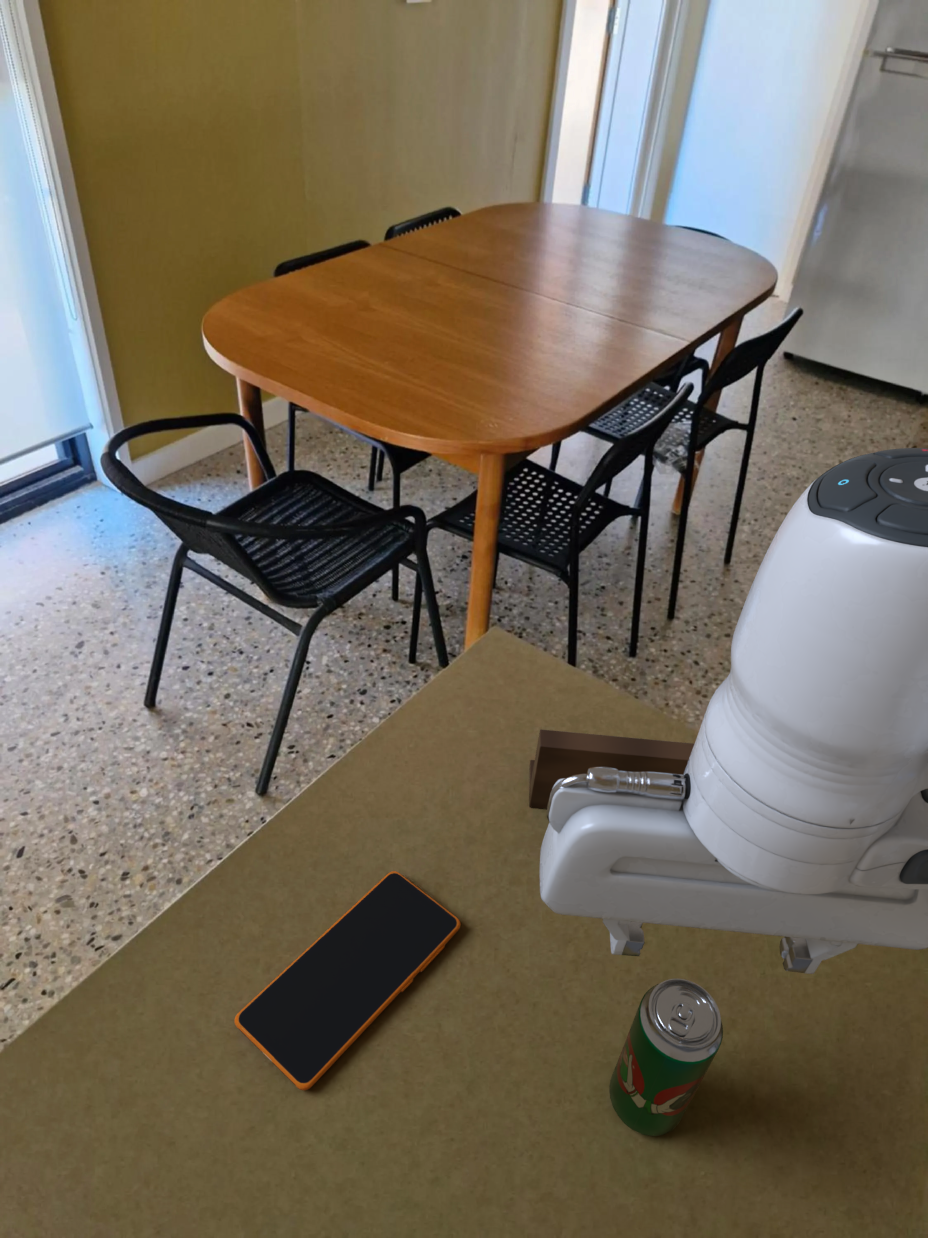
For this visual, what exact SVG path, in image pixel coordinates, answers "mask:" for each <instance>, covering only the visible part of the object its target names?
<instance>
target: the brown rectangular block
mask: <svg viewBox="0 0 928 1238" xmlns="http://www.w3.org/2000/svg"><path fill="white" fill-rule="evenodd" d="M694 744H695V743H691V742H680V741H672V740H671V741H670V740H661V739H659V740H658V739H650V738H649V739H648V738H640V737H639V738H638V737H628V736H617V735H616V736H615V735H605V734H596V733H595V734H594V733H586V732H585V733H584V732H573V731H562V730H553V729H552V730H551V729H539V733H538V739H537V745H536V750H535V757H534V759H530V760H529V772H528V773H529V775H528V777H529V779H528V782H529V785H528V787H529V788H528V789H529V793H528V794H529V795H528V798H529V799H528V803H529V804H528V806H529V808H533V809H544V810H547V807H548V802H549V797H550V793H551V791H552V788H553V786H554V784H555V783H556V782H557V781H558V780H559V779H563V778H567V777H570V776H573V775H577V774H587V771H588V769H589V768H592V767H611V768H616V769H618V771H627V772H628V771H630V772H662V773H672V774H684V772H685V769H686V766H687V763H688V760H689V757H690V755H691V752H692V749H693V746H694Z"/></svg>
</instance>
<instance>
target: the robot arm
mask: <svg viewBox="0 0 928 1238" xmlns="http://www.w3.org/2000/svg"><path fill="white" fill-rule="evenodd" d="M777 529H778V530H777V531H776V533H775V535H774V537H773V539H772V541H771V542H770V545H769V547H768V548H767V551H766V553H765V555H764V557H763V559H762V561H761V563H760V565H759V566H758V567H759V568H758V570H757V572H756V575H755V577H754V579H753V581H752V584H751V585H750V589H749V591H748V593H747V596H746V599H745V602H744V604H743V607H742V609H741V612H740V615H739V617H738V620H737V623H736V625H735V629H734V631H733V635H732V639H731V643H730V644H731V645H730V664H731V665H730V670H729V674H728V675H727V677H726V678H724V680H723V681H722V682H721V683H720V684H719V685H718V687H717V688H716V689H715V691H714V693H713V694H712V696H711V698H710V700H709V703H708V705H707V706H706V710H705V712H704V715H703V719H702V721H701V724H700V728H699V729H698V733H697V736H696V738H695V741H694V743H693V744H694V746H693V749H692V752H691V755H690V757H689V760H688V763H687V766H686V769H685V772H684V774H672V773H662V772H630V771H628V772H627V771H618V769H616V768H611V767H592V768H589V769H588V771H587V774H577V775H573V776H570V777H567V778H563V779H559V780H558V781H557V782H556V783H555V784H554V786H553V788H552V791H551V793H550V797H549V802H548V807H547V809H546V818H547V819H546V820H547V821H548V822H549V823H548V825H547V828H546V830H545V833H544V836H543V839H542V841H541V842H542V843H541V846H540V850H539V851H540V852H539V893H540V898H541V901H542V902H543V903H544V904H545V905H546V906H547V907H548V908H549V909H550V910H551V911H552V912H553V913H555V914H558V915H563V916H572V917H583V918H592V919H602V924H603V925H604V926H605V928H606V929H607V930H608V932H609V943H610V953H611V955H614V956H629V957H640V956H641V950H643V948H644V946H645V933H644V930H643V929H642V928H643V927H642V926H643V924H652V925H653V924H655V925H662V926H663V925H664V926H674V927H682V928H683V927H684V928H693V929H704V930H713V931H725V932H734V933H743V934H744V933H745V934H753V935H765V936H775V937H782V938H780V941H779V954H780V957H782V959H783V962H782V967H783V970H784V971H785V972H789V973H790V972H792V973H797V974H798V973H800V974H807V975H814V974H815V973H816V971H817V970H818V968H819V966H820V964H821V963H823V962H822V961H826V960H829V959H831V958H834V957H836V956H838V955H841V954H844V953H846V952H848V951H851V950H853V949H855V948H857V946H858V945H866V946H876V947H885V948H896V949H897V948H898V949H906V950H913V951H914V950H915V951H920V950H926V949H928V447H927V448H926V447H902V448H901V447H900V448H892V449H883V450H878V451H874V452H869V453H865V454H861V455H857V456H854V457H852V458H851V457H850V458H849V459H846V460H844V461H842V462H840V463H838V464H836V465H834V466H832V467H831V468H829V469H828V470H826V471H825V472H824V473H822V474H821V475H819V476H818V477H817V478H816V479H815V480H813V481H812V482H811V484H809V485H808V486H807V487H806V489H805V490H804V491H803V492H802V493H801V494H800V496H799V497H798V498H797V500H796V501H794V504H793V505H792V507H791V508H790V509H789V511H788V512H787V514H786V516H785V518H784V519H783V520H782V522H781V524H780V526H779V527H778V528H777Z"/></svg>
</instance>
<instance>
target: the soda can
mask: <svg viewBox="0 0 928 1238" xmlns="http://www.w3.org/2000/svg"><path fill="white" fill-rule="evenodd" d="M721 1017H722V1016H721V1012H720V1009H719V1006H718V1004H717V1002H716V1001H715V999H714V998H713V996H712V995H711V994H710V993H709V992H708V991H707V990H706V989H705V988H704V987H702V986H701V985H699V984H697V983H696V982H694V981H692V980H688V979H685V978H669V979H666V980H664V981H662V982H660V983H657V984H655V985H653V986H651V987H650V988H649V989H648V990H647V991H646V992H645V993H644V995H643V996H642V998H641V1000H640V1002H639V1005H638V1008H637V1010H636V1013H635V1015H634V1018H633V1021H632V1023H631V1025H630V1028H629V1031H628V1033H627V1036H626V1038H625V1041H624V1043H623V1046H622V1049H621V1050H620V1054H619V1057H618V1059H617V1062H616V1064H615V1066H614V1069H613V1071H612V1074H611V1077H610V1079H609V1085H608V1086H609V1087H608V1088H609V1089H608V1091H609V1098H610V1102H611V1106H612V1108H613V1110H614V1112H615V1113H616V1115H617V1116H618V1118H619V1119H620V1120H621V1122H623V1123H624V1124H625V1126H627V1128H630V1129H631V1131H632V1130H633V1131H634V1132H636V1133H637V1134H641V1135H644V1136H649V1137H657V1136H663V1135H666V1134H669V1133H670V1132H672V1131H674V1129H675V1128H676V1127H677V1126H678V1125H679V1123H680V1122H681V1120H682V1119H683V1116H685V1113H686V1111H687V1109H688V1107H689V1105H690V1103H691V1101H692V1100H693V1098H694V1096H695V1094H696V1093H697V1091H698V1089H699V1087H700V1085H701V1083H702V1081H703V1079H704V1077H705V1075H706V1073H707V1072H708V1070H709V1068H710V1066H711V1064H712V1062H713V1060H714V1058H715V1057H716V1055H717V1053H718V1051H719V1050H720V1047H721V1045H722V1041H723V1037H724V1036H723V1035H724V1027H723V1026H724V1025H723V1022H722V1021H723V1020H722V1018H721Z"/></svg>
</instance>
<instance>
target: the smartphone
mask: <svg viewBox="0 0 928 1238" xmlns="http://www.w3.org/2000/svg"><path fill="white" fill-rule="evenodd" d="M461 925H462V923H461V920H460V919H459V918H458V917H457V916H455V915H454V914H453V913H452V912H451V911H449V910H448V909H447V908H446V907H444V906H442V904H440V903H438V901H436V900H435V899H434V898H433V897H431V896H430V895H429V894H427V893H426V892H425V891H423V890H422V889H421V888H419V886H417V885H416V884H414V882H412V881H411V880H409V879H408V878H407V877H406V876H404V875H403V874H402V873H400V872H398V871H396V870H392V871H390V872H388V873H386V875H385V876H383V877H382V878H381V879H380V880H379V881H378V882H377V883H376V884H375V885H374V886H373V887H372V888H371V889H370V890H368V892H366V893H365V894H364V895H363V896H362V897H361V898H360V899H359V900H358V901H357V902H356V903H355V904H354V905H353V906H351V907H350V908H349V910H347V911H346V912H345V913H344V914H343V915H342V916H341V917H339V918H338V919H337V920H336V921H335V922H334V923H333V924H332V925H331V926H330V927H329V928H327V930H325V931H324V933H322V934H321V935H320V936H319V937H318V938H317V939H316V940H315V941H314V942H313V943H311V944H310V946H308V947H307V948H306V949H305V950H304V951H303V952H302V953H301V954H300V955H299V956H298V957H297V958H295V960H293V961H292V962H291V963H289V965H288V966H287V967H286V968H285V969H284V970H283V971H281V972H280V973H279V974H278V975H277V976H276V977H275V978H274V979H273V980H272V981H271V982H269V984H268V985H267V986H265V988H263V989H262V990H261V991H260V992H259V993H258V994H257V995H255V997H254V998H252V1000H250V1001H249V1002H248V1003H246V1005H245V1006H244V1007H243V1008H242V1009H240V1011H239V1012H237V1014H236V1015H235V1017H234V1025H235V1027H236V1028H237V1029H238V1030H239V1031H240V1032H241V1033H242V1034H243V1035H244V1037H246V1038H247V1040H249V1041H250V1042H251V1043H252V1044H253V1045H254V1046H255V1047H256V1048H257V1049H258V1051H260V1052H261V1053H262V1054H263V1055H264V1056H265V1057H266V1058H267V1059H268V1060H269V1061H270V1062H271V1063H272V1064H273V1065H274V1066H275V1067H276V1068H277V1069H278V1070H279V1071H280V1072H281V1073H282V1074H283V1075H284V1076H285V1077H286V1078H287V1079H288V1081H290V1082H291V1083H292V1084H293V1085H294V1086H295V1087H296V1088H297V1089H298V1090H300V1091H307V1090H309V1089H311V1088H312V1087H313V1086H314V1085H315V1084H316V1083H317V1082H318V1081H319V1079H320V1078H322V1076H323V1075H324V1074H326V1072H327V1071H328V1070H329V1069H330V1068H331V1067H332V1066H333V1065H334V1064H335V1062H336V1061H338V1059H339V1058H340V1057H341V1056H342V1055H343V1054H344V1053H345V1052H346V1051H347V1050H348V1049H349V1048H350V1047H351V1046H352V1045H353V1044H354V1042H355V1041H356V1040H357V1039H359V1037H360V1036H361V1035H362V1034H363V1032H365V1030H367V1028H369V1027H370V1025H371V1024H373V1022H374V1021H375V1020H376V1019H377V1018H378V1017H379V1015H380V1014H382V1013H383V1012H384V1010H385V1009H386V1008H388V1006H389V1005H390V1004H391V1003H392V1002H393V1001H394V1000H395V999H396V997H398V995H399V994H400V993H403V992H404V991H405V990H406V989H407V988H408V987H409V986H410V985H411V984H412V983H413V982H414V978H415V977H416V976H417V975H418V974H419V973H422V972H423V971H424V970H425V969H426V968H427V967H428V966H429V965H430V964H431V963H432V962H433V960H435V958H436V957H437V956H438V955H439V954H440V953H441V952H442V951H443V950H444V949H445V947H446V944H447V943H448V942H449V941H450V940H451V939H452V938H453V937H454V936H455V935H456V934H457V933H458V931H459V930H460V929H461Z"/></svg>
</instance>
